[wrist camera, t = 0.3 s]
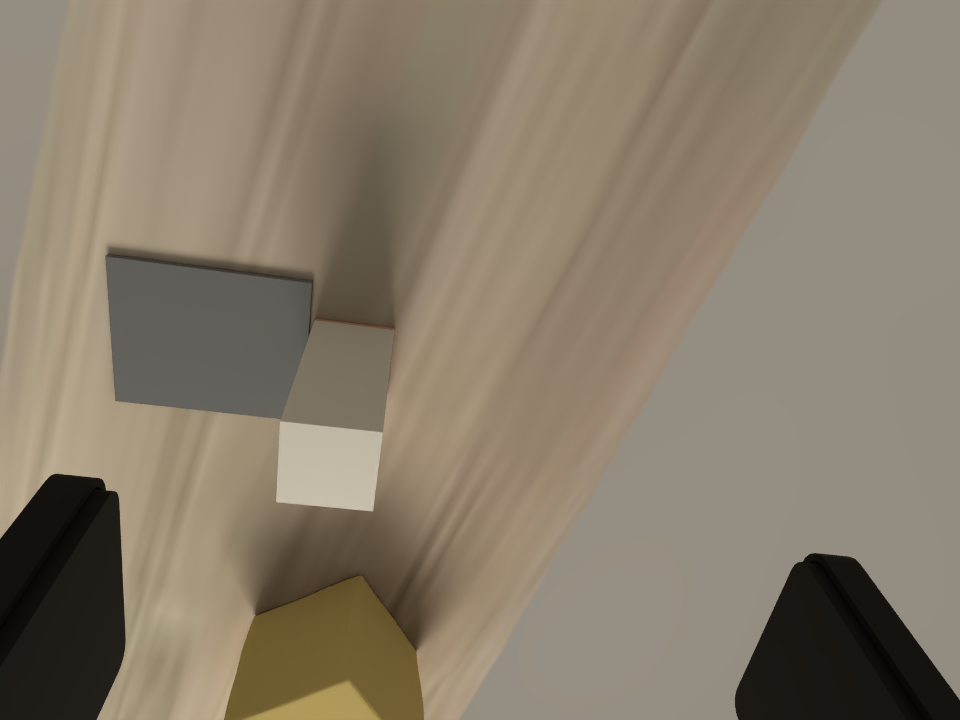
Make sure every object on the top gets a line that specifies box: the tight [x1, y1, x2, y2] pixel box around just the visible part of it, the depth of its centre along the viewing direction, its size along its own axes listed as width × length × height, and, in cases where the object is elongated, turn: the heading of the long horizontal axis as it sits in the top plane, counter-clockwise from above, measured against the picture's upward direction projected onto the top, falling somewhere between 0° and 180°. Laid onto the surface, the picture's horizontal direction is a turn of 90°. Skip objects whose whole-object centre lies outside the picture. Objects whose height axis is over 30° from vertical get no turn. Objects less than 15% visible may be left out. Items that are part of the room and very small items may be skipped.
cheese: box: [224, 575, 424, 720], centre depth 56 cm, size 10×11×10 cm
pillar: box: [276, 318, 395, 511], centre depth 43 cm, size 5×5×12 cm
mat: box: [105, 254, 313, 419], centre depth 48 cm, size 10×12×1 cm
